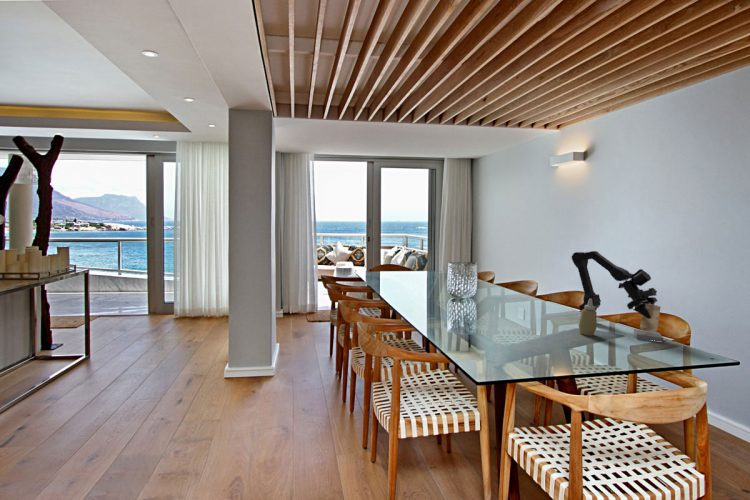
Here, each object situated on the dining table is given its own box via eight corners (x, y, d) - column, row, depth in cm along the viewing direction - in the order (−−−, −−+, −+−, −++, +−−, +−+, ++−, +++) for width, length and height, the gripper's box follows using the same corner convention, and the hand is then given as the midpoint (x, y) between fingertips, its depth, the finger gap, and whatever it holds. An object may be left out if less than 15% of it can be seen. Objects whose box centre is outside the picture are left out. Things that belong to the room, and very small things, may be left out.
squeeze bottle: (595, 333, 225) (599, 298, 224) (595, 337, 218) (600, 301, 216) (577, 330, 229) (581, 296, 227) (577, 334, 222) (581, 298, 220)
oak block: (639, 329, 224) (643, 304, 223) (645, 328, 227) (648, 303, 226) (651, 332, 220) (655, 307, 218) (657, 331, 223) (660, 306, 221)
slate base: (636, 339, 221) (637, 334, 221) (633, 333, 231) (634, 328, 231) (662, 343, 217) (663, 338, 216) (658, 337, 227) (659, 332, 226)
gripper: (636, 283, 219) (657, 310, 211) (655, 281, 229) (676, 307, 221) (618, 295, 226) (638, 322, 218) (637, 293, 237) (657, 319, 229)
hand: (653, 317), depth 222 cm, fingers closed on oak block, 5 cm apart
